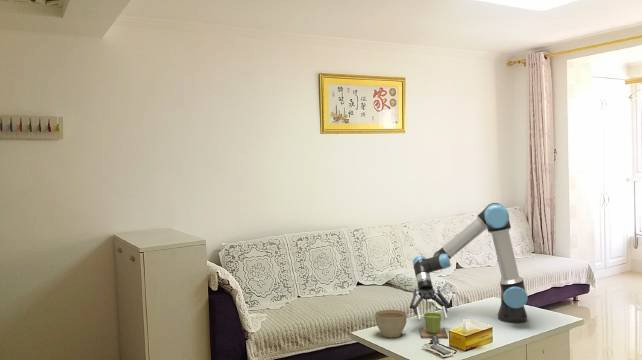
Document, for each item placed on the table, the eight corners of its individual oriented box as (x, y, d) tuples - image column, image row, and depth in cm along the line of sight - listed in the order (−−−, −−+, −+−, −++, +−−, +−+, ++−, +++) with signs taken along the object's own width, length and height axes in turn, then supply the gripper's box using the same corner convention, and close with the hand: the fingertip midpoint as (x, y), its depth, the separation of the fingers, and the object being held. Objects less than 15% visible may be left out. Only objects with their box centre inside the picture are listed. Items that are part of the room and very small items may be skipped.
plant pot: (421, 329, 275) (421, 312, 274) (439, 328, 276) (439, 311, 275) (426, 335, 265) (426, 317, 265) (445, 334, 266) (444, 316, 266)
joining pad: (444, 330, 276) (444, 328, 276) (447, 338, 263) (447, 336, 263) (419, 330, 278) (419, 327, 278) (421, 338, 265) (421, 335, 265)
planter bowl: (409, 331, 277) (408, 310, 276) (405, 341, 261) (405, 319, 261) (378, 329, 281) (377, 308, 281) (372, 339, 265) (372, 317, 265)
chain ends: (434, 327, 281) (434, 324, 281) (439, 344, 256) (439, 340, 256) (428, 327, 281) (428, 324, 281) (432, 344, 256) (432, 340, 256)
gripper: (446, 285, 288) (455, 322, 274) (400, 287, 287) (407, 324, 272) (449, 278, 283) (458, 314, 268) (402, 280, 281) (409, 316, 267)
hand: (432, 319), depth 270 cm, fingers open, 13 cm apart
